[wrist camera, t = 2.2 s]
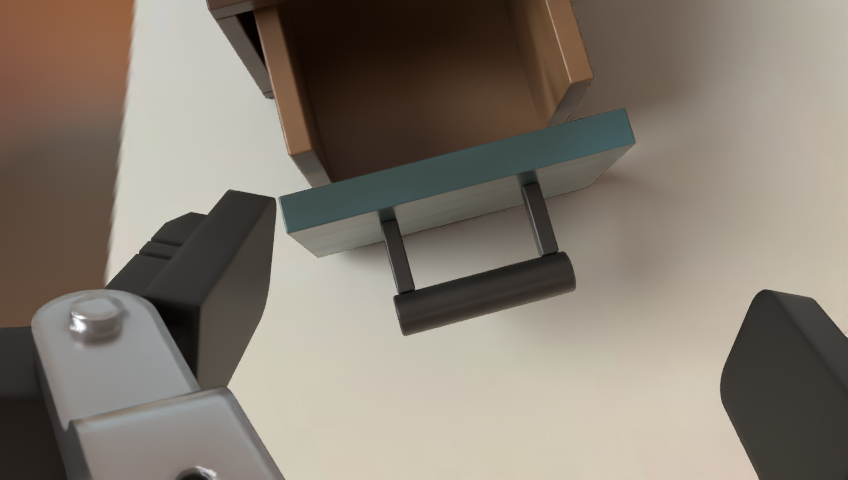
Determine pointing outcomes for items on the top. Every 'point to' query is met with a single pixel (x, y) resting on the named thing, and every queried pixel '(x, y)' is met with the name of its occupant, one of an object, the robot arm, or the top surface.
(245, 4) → the cabinet
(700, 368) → the top surface
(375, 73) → the drawer
